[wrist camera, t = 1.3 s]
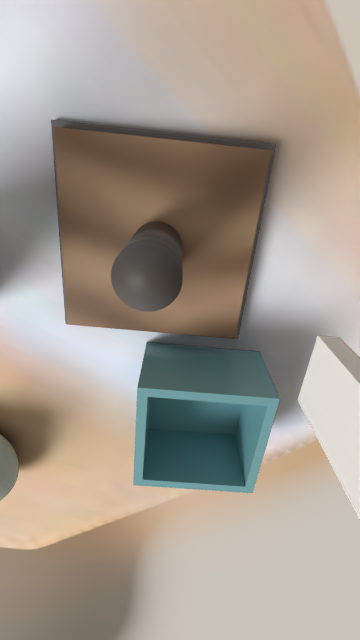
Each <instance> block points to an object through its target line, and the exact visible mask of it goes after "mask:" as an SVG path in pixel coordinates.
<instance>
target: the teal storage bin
mask: <svg viewBox="0 0 360 640" xmlns="http://www.w3.org/2000/svg"><path fill="white" fill-rule="evenodd" d="M279 401H280V398H279V395H278V393H277V391H276V389H275V386H274V384H273V382H272V379H271V377H270V375H269V372H268V370H267V368H266V365H265V363H264V361H263V359H262V356H261V354H260V352H256V351H245V350H233V349H221V348H209V347H197V346H185V345H173V344H162V343H150V342H147V344H146V349H145V354H144V359H143V364H142V369H141V374H140V378H139V383H138V390H137V413H136V436H135V459H134V481H133V485H140V486H155V487H170V488H184V489H199V490H215V491H228V492H243V493H253V490H254V486H255V483H256V479H257V476H258V473H259V469H260V466H261V462H262V459H263V456H264V452H265V449H266V445H267V442H268V438H269V435H270V432H271V428H272V425H273V421H274V418H275V414H276V411H277V408H278V404H279Z"/></svg>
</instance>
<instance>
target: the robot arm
mask: <svg viewBox="0 0 360 640" xmlns="http://www.w3.org/2000/svg"><path fill="white" fill-rule="evenodd" d="M298 402H299V404H300V406H301V408H302V410H303V412H304V414H305V416H306V417H307V419H308V421H309V423H310V425H311V427H312V429H313V431H314V433H315V435H316V437H317V439H318V441H319V442H320V444H321V446H322V448H323V450H324V452H325V454H326V456H327V458H328V460H329V462H330V464H331V465H332V467H333V469H334V471H335V473H336V475H337V477H338V479H339V481H340V483H341V485H342V487H343V489H344V490H345V492H346V494H347V496H348V498H349V500H350V502H351V504H352V506H353V507H354V510H355V511H356V513H357V515H358V517H359V519H360V357H359V356H358V355H357V354H356V353H355V352H354V351H353V350H352V349H351V348H350V347H349V346H348V345H347V344H346V343H345V342H344V341H343V340H342V339H341V338H340V337H331V336H320V335H318V336H317V339H316V343H315V346H314V349H313V352H312V355H311V359H310V362H309V365H308V368H307V371H306V374H305V378H304V381H303V384H302V387H301V390H300V393H299V397H298Z"/></svg>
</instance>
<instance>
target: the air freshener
mask: <svg viewBox="0 0 360 640" xmlns="http://www.w3.org/2000/svg"><path fill="white" fill-rule="evenodd" d="M18 471H19V464H18V458H17V455H16V452H15V450H14V449H13V447H12V445H11V444H10V443H9V442H8V440H7V439H5V438H4V437H3V436H2V435H1V434H0V500H2V499H3V498H4V497H5V496H6V495H7V494H8V493H9V492H10V491H11V489H12V488H13V487H14V485H15V482H16V480H17V477H18Z"/></svg>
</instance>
